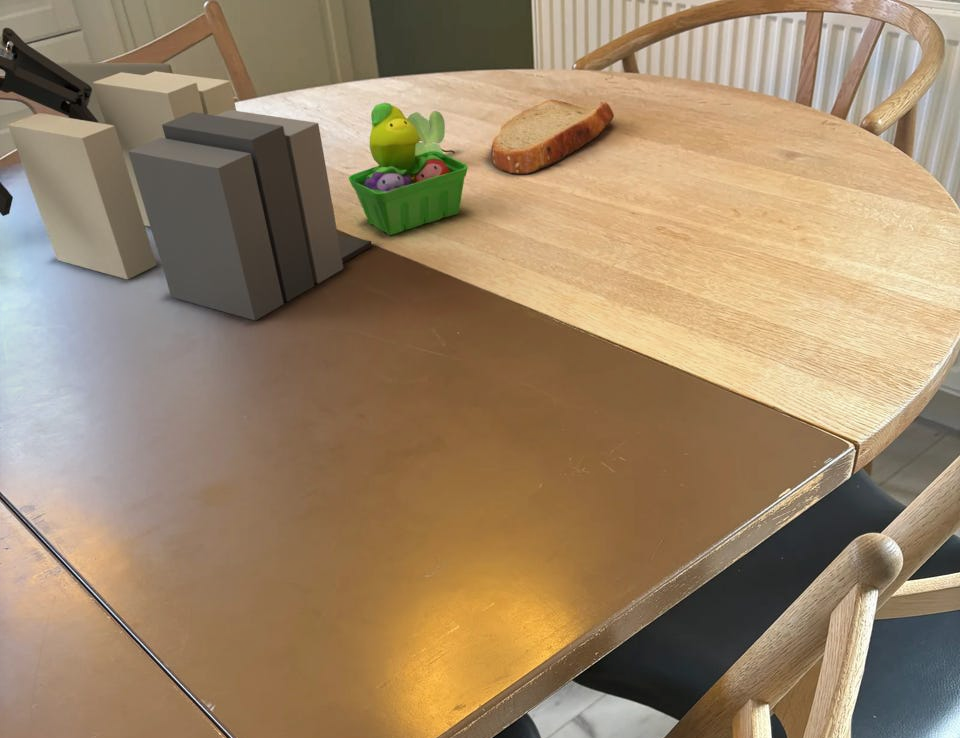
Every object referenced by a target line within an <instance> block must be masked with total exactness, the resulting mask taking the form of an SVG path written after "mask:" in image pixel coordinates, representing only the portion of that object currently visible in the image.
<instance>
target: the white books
mask: <svg viewBox="0 0 960 738" xmlns="http://www.w3.org/2000/svg"><path fill="white" fill-rule="evenodd" d="M93 85H94V88H95V91H96V94H97V98H98V101H99V104H100V107H101V111H102V114H103V117H104V121H105V124H108V125H114V126H115V129H116V132H117V136H118V139H119V142H120V146H121V149H122V152H123V156H124V159H125V162H126V166H127V169H128V172H129V176H130V179H131V182H132V186H133V189H134V192H135V196H136V199H137V202H138V206H139V209H140V212H141V216H142V219H143V222H144V226H145V227H149V228H151V227H150V224H149V220H148V217H147V214H146V210H145V207H144V203H143V200H142V197H141V193H140V190H139V187H138V183H137V180H136V177H135V173H134V170H133V166H132V163H131V160H130V156H129V153H128V151H129V150H132V149H134V148H136V147H139V146H141V145H144V144H146V143H149V142H151V141H154V140H156V139H158V138H165V135H164V131H163V127H162V124H164V123H167V122H169V121H172V120H174V119H177V118H179V117H182V116H184V115H187V114H189V113H192V112H195V113H201V114H208V115H214V116H215V115H217V114H220V113H222V112H225V111H227V110H234V111H237V107H236V102H235V98H234V94H233V89H232V84H231V81H230V80H226V79H218V78H212V77H211V78H210V77H203V76H194V75H187V74H179V73H173V74H172V73H164V72H157V71H155V72H152V73H149V74H146V75H137V74H130V73H122V72H121V73H118V74H115V75H112V76H110V77H107V78H104V79H101V80H98V81H95V82H93ZM165 139H166V138H165Z"/></svg>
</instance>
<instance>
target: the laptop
mask: <svg viewBox="0 0 960 738" xmlns="http://www.w3.org/2000/svg"><path fill="white" fill-rule="evenodd" d="M53 62H54V63H56V64H58V65H59V66H61V67H62V68H64V69H65V70H67V71H68V72H70V73H71V74H73V75H74V76H76V77H77V78H79V79H81V80H82V81H84V82H85V83H87V84H88V85H89V86H91V88H92V92H91V96H90V99H89V103H88V106H87V108H88V109H89V111H90V112H91V113H92V114H93V115H94V117H95V118H96V119H97V120H98V122H99V123H102V124H105V121H104V117H103V114H102V111H101V107H100V104H99V101H98V98H97V94H96V91H95V88H94V85H93V82H95V81H98V80H101V79H104V78H107V77H110V76H112V75H115V74H118V73H121V72H122V73H130V74H137V75H146V74H149V73H152V72H155V71H157V72H164V73H172V74H174V73H173V69H172V66H171V64H170V63H165V62H163V63H159V62H158V63H157V62H96V61H95V62H93V61H92V62H91V61H90V62H88V61H87V62H86V61H85V62H84V61H83V62H82V61H53ZM66 102H67V101H66ZM67 103H68V104H69V102H67ZM64 117H66V118H69V116H67V115H65V114H64Z"/></svg>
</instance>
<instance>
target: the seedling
mask: <svg viewBox="0 0 960 738" xmlns="http://www.w3.org/2000/svg"><path fill="white" fill-rule="evenodd" d="M406 118H407V119H408V120H409V121H410V122H411V123H412V124H413V126H414V127H415V128H416V130H417V132H418V134H419V137H420V141H419V142H418V143H417V144H416V148H415V155H418V154H422V153H426V152H429V151H438V152H441V153H443V154H444V153H452V154H456V151H454V150H451V149H448V150H445V149H443V148H442V146H441V145H440V143H442V142H443V140H444V139H445V134H446V124H445V123H446V121H445V118H444V116H443V115H442V113H441V112H440V111H438V110H433V111H431V113H430V115H429V117H428V118H426V117H424V116H423V115H422V114H421V113H420V112H417V111H415V112H412V113H411V114H409V115H408V117H406Z"/></svg>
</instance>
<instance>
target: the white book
mask: <svg viewBox="0 0 960 738" xmlns="http://www.w3.org/2000/svg"><path fill="white" fill-rule="evenodd" d="M7 127H8V129H9V132H10V135H11V138H12V141H13V143H14V146H15V149H16V152H17V154H18V156H19V160H20V162H21V165H22V168H23V170H24V174H25V176H26V179H27V181H28V184H29V187H30V191H31V192H32V195H33V197H34V201H35V203H36V205H37V210H38V212H39V214H40V217H41V220H42V222H43V225H44V227H45V231H46V233H47V236H48V239H49V242H50V244H51V247H52V249H53V252H54V255H55V259H56V260H57V261H59V262H62V263H66V264H70V265H73V266H77V267H81V268H84V269H88V270H91V271H95V272H99V273H102V274H106V275H110V276H112V277H117V278H120V279H124V280H130V279H132V278H135V277H136V276H138V275H140V274H142V273H144V272H146V271H149V270H150V269H152V268H154V267H156V266H157V263H156V259H155V255H154V253H153V249H152V246H151V242H150V239H149V236H148V232H147V229H146V226H145V225H144V222H143V219H142V216H141V212H140V209H139V206H138V202H137V199H136V196H135V192H134V189H133V186H132V182H131V179H130V176H129V172H128V169H127V166H126V162H125V159H124V156H123V152H122V149H121V146H120V142H119V139H118V136H117V132H116V129H115V126H114V125H108V124H102V123H96V122H90V121H84V120H78V119H72V118H66V116H59V115H54V114H48V113H42V112H38V113H36V114H33V115H30V116H27V117H24V118H22V119H19V120H15V121H13V122H11V123H10V122H9V123H8V124H7Z"/></svg>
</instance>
